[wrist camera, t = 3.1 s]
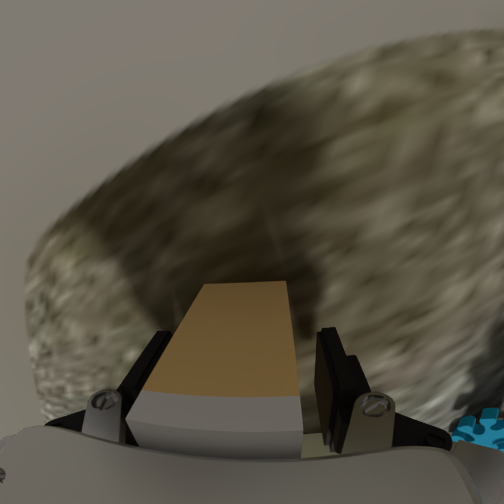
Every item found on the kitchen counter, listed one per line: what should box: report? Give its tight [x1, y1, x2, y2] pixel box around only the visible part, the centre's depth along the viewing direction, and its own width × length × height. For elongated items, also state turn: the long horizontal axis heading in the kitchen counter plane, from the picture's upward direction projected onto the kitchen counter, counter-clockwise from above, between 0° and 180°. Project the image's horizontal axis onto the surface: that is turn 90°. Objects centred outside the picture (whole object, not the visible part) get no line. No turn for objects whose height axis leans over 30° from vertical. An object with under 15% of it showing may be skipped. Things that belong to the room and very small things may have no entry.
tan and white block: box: [126, 281, 303, 459], centre depth 9 cm, size 4×6×8 cm, turn 4°
